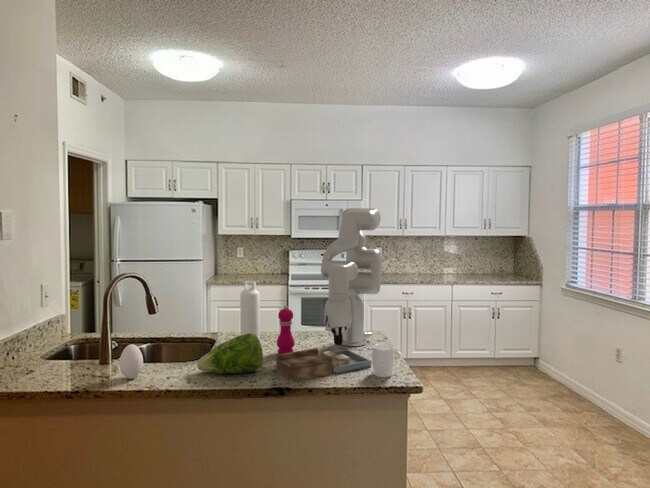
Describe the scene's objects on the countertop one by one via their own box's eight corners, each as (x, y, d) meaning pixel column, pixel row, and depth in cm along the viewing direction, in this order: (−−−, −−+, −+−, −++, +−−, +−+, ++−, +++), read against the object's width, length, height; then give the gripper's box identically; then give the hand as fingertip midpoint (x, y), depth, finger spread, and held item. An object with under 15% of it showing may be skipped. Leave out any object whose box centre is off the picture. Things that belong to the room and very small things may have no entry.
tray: (347, 355, 183) (347, 349, 182) (370, 367, 169) (370, 360, 169) (313, 361, 175) (313, 355, 174) (336, 374, 161) (336, 367, 161)
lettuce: (203, 379, 167) (196, 343, 167) (266, 363, 170) (258, 329, 170) (197, 388, 153) (189, 349, 153) (266, 371, 156) (258, 333, 156)
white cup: (367, 371, 164) (368, 344, 163) (386, 369, 167) (387, 342, 166) (378, 379, 156) (379, 351, 156) (398, 376, 160) (398, 348, 159)
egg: (124, 374, 158) (123, 341, 157) (146, 374, 159) (145, 341, 158) (116, 382, 151) (115, 347, 150) (139, 382, 151) (138, 347, 151)
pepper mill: (293, 356, 180) (293, 307, 179) (275, 356, 180) (275, 306, 179) (295, 351, 187) (295, 303, 186) (277, 350, 188) (278, 303, 186)
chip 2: (332, 355, 172) (332, 362, 172) (339, 359, 168) (339, 365, 168) (342, 354, 174) (342, 360, 174) (349, 357, 171) (349, 363, 171)
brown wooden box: (314, 362, 174) (314, 347, 173) (333, 373, 162) (334, 357, 161) (276, 369, 165) (276, 353, 165) (293, 381, 153) (294, 364, 153)
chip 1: (324, 363, 170) (329, 362, 171) (330, 367, 166) (336, 365, 168) (323, 352, 169) (328, 350, 171) (329, 355, 166) (335, 353, 167)
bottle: (237, 348, 190) (237, 282, 188) (244, 343, 198) (244, 279, 196) (255, 350, 188) (255, 283, 186) (262, 344, 196) (262, 280, 194)
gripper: (349, 292, 176) (349, 338, 178) (316, 297, 169) (316, 344, 170) (360, 296, 170) (360, 344, 172) (326, 300, 162) (326, 350, 164)
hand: (338, 344), depth 171 cm, fingers closed
